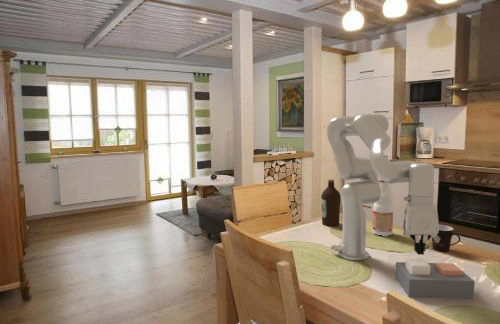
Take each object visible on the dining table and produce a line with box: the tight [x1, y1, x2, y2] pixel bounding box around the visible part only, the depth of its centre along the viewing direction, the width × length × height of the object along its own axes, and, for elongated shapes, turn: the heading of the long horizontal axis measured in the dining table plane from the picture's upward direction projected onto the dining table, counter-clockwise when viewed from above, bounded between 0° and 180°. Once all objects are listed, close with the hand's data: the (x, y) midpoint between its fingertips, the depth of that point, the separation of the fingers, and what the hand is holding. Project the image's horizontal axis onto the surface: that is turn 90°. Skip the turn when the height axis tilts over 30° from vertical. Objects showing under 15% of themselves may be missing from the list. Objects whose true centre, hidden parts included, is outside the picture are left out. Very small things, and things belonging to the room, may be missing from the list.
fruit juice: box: [372, 178, 394, 237], centre depth 175 cm, size 9×9×28 cm
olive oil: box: [320, 179, 342, 227], centre depth 194 cm, size 11×11×25 cm
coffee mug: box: [431, 224, 461, 253], centre depth 152 cm, size 12×9×10 cm
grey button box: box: [394, 261, 475, 300], centre depth 119 cm, size 20×14×6 cm
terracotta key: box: [434, 262, 463, 276], centre depth 118 cm, size 6×6×4 cm
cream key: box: [405, 258, 430, 275], centre depth 119 cm, size 6×6×4 cm
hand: (419, 253), depth 118 cm, fingers closed
